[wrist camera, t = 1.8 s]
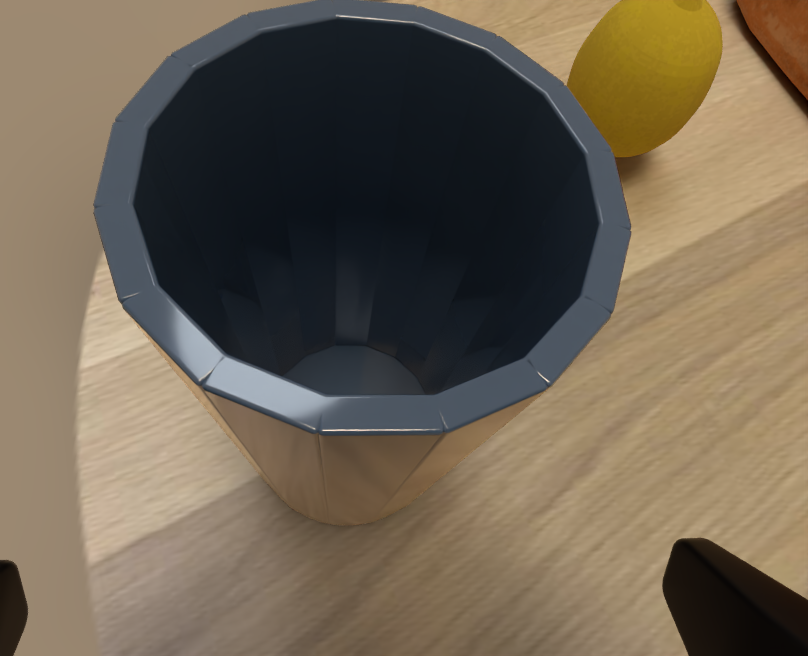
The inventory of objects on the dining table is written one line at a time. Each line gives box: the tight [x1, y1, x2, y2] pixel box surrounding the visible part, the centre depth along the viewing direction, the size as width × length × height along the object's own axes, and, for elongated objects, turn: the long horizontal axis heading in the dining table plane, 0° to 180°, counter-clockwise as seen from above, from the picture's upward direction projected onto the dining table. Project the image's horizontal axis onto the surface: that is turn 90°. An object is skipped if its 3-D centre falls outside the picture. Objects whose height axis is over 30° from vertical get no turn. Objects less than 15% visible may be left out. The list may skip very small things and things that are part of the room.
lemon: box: [567, 0, 723, 157], centre depth 23 cm, size 6×6×8 cm
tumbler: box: [94, 0, 631, 526], centre depth 13 cm, size 7×7×14 cm
